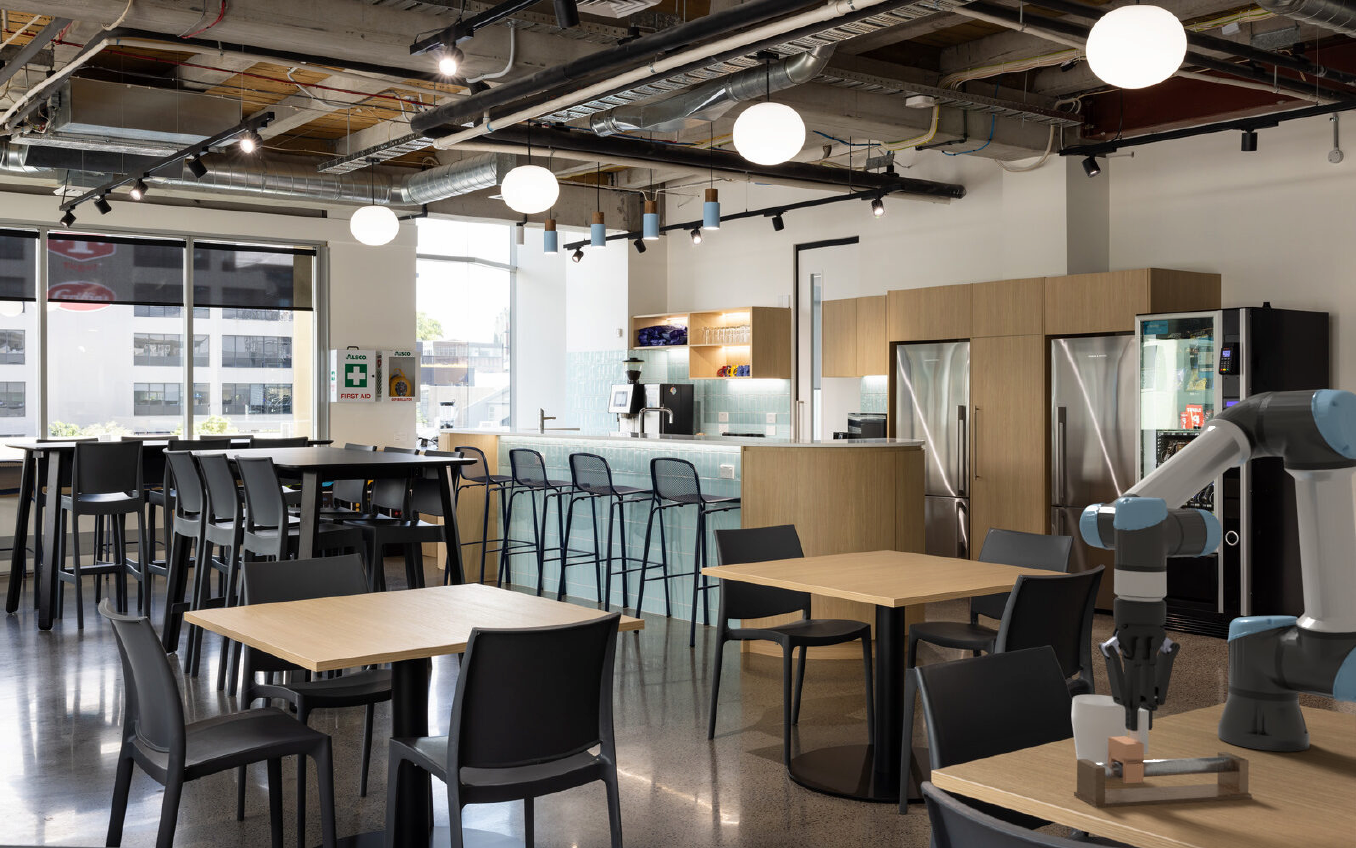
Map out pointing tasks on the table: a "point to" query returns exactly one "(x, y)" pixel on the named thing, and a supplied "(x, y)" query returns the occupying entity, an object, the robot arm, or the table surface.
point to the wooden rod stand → (1228, 788)
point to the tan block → (1127, 757)
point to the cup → (1096, 725)
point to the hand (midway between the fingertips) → (1138, 751)
